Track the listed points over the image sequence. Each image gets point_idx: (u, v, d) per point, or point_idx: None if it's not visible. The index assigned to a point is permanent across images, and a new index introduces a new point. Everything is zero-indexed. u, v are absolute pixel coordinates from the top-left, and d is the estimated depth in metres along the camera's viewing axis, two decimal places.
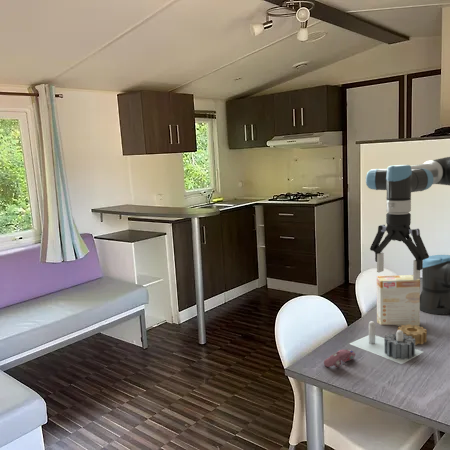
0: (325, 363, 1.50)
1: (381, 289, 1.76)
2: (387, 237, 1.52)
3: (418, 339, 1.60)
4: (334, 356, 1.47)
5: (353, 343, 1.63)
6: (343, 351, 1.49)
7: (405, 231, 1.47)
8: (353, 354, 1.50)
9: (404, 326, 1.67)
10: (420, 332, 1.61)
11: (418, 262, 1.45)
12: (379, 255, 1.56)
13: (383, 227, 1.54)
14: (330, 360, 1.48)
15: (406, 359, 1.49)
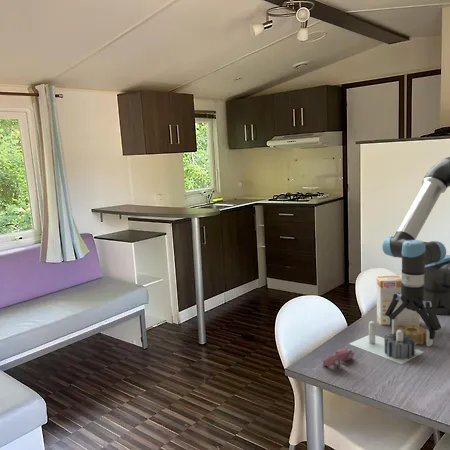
0: (324, 363, 1.51)
1: (381, 289, 1.76)
2: (402, 306, 1.64)
3: (418, 339, 1.60)
4: (333, 356, 1.48)
5: (353, 343, 1.63)
6: (342, 351, 1.49)
7: (419, 302, 1.59)
8: (352, 354, 1.50)
9: (404, 326, 1.67)
10: (420, 332, 1.61)
11: (431, 332, 1.57)
12: (394, 321, 1.68)
13: (398, 296, 1.66)
14: (328, 359, 1.48)
15: (406, 359, 1.49)
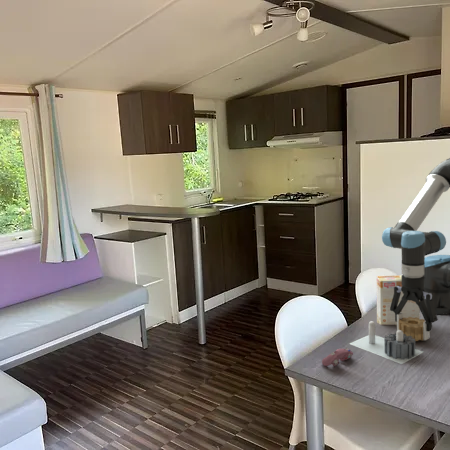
0: (323, 362, 1.51)
1: (381, 289, 1.76)
2: (403, 298, 1.63)
3: (419, 331, 1.60)
4: (332, 355, 1.48)
5: (353, 343, 1.63)
6: (341, 350, 1.49)
7: (419, 293, 1.58)
8: (351, 353, 1.51)
9: (405, 319, 1.67)
10: (421, 324, 1.61)
11: (427, 324, 1.58)
12: (399, 316, 1.67)
13: (398, 288, 1.66)
14: (327, 359, 1.49)
15: (406, 359, 1.49)
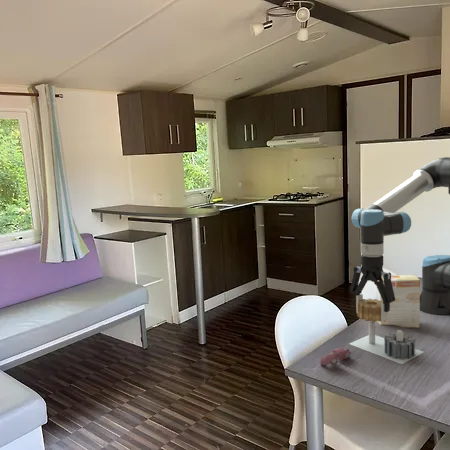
0: (321, 361, 1.51)
1: None
2: (362, 278, 1.60)
3: (377, 312, 1.57)
4: (330, 354, 1.49)
5: (353, 343, 1.63)
6: (339, 349, 1.50)
7: (378, 273, 1.55)
8: (349, 352, 1.51)
9: (364, 300, 1.64)
10: (379, 305, 1.58)
11: (385, 304, 1.55)
12: (358, 297, 1.64)
13: (358, 268, 1.63)
14: (326, 358, 1.49)
15: (406, 359, 1.49)
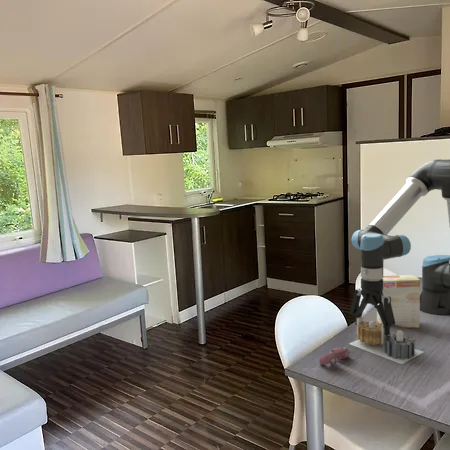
0: (320, 361, 1.52)
1: None
2: (363, 301, 1.61)
3: (377, 335, 1.58)
4: (329, 354, 1.49)
5: (353, 343, 1.63)
6: (338, 349, 1.50)
7: (378, 297, 1.57)
8: (348, 352, 1.52)
9: (365, 322, 1.65)
10: (380, 328, 1.59)
11: (385, 328, 1.56)
12: (359, 319, 1.65)
13: (358, 291, 1.64)
14: (325, 358, 1.50)
15: (406, 359, 1.49)
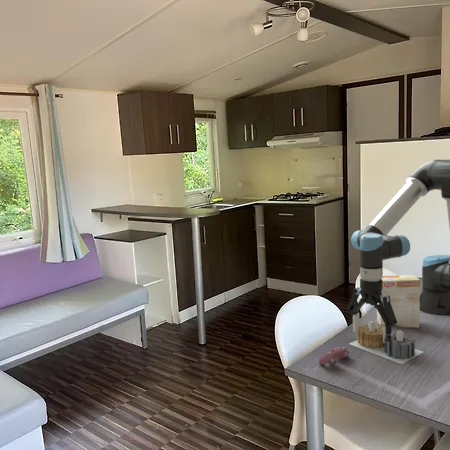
0: (320, 361, 1.52)
1: None
2: (361, 300, 1.62)
3: (377, 339, 1.58)
4: (329, 354, 1.49)
5: (353, 343, 1.63)
6: (337, 349, 1.51)
7: (377, 297, 1.57)
8: (347, 352, 1.52)
9: (365, 326, 1.65)
10: (379, 332, 1.59)
11: (387, 327, 1.56)
12: (355, 316, 1.66)
13: (357, 290, 1.64)
14: (324, 357, 1.50)
15: (406, 359, 1.49)
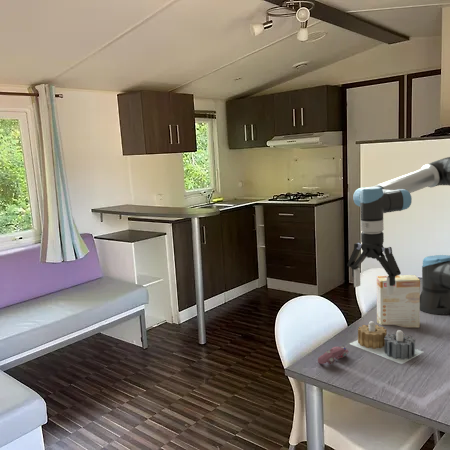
0: (319, 360, 1.52)
1: (381, 289, 1.76)
2: (362, 254, 1.62)
3: (377, 339, 1.58)
4: (328, 353, 1.50)
5: (353, 343, 1.63)
6: (336, 348, 1.51)
7: (378, 249, 1.57)
8: (346, 351, 1.52)
9: (365, 326, 1.65)
10: (379, 332, 1.59)
11: (391, 278, 1.55)
12: (356, 271, 1.66)
13: (358, 245, 1.64)
14: (323, 357, 1.50)
15: (406, 359, 1.49)
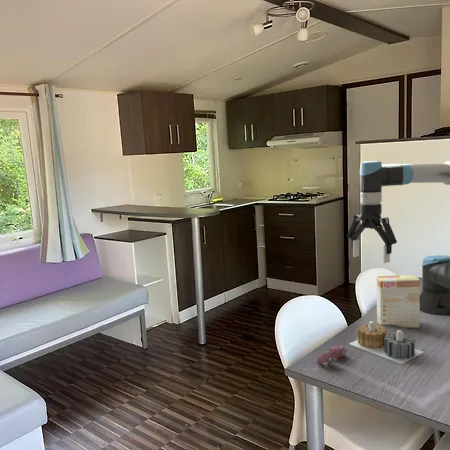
0: (318, 360, 1.53)
1: (381, 289, 1.76)
2: (361, 225, 1.71)
3: (377, 339, 1.58)
4: (327, 353, 1.50)
5: (353, 343, 1.63)
6: (335, 348, 1.51)
7: (376, 219, 1.66)
8: (345, 350, 1.53)
9: (365, 326, 1.65)
10: (379, 332, 1.59)
11: (387, 247, 1.64)
12: (355, 241, 1.75)
13: (358, 216, 1.73)
14: (322, 356, 1.51)
15: (406, 359, 1.49)
